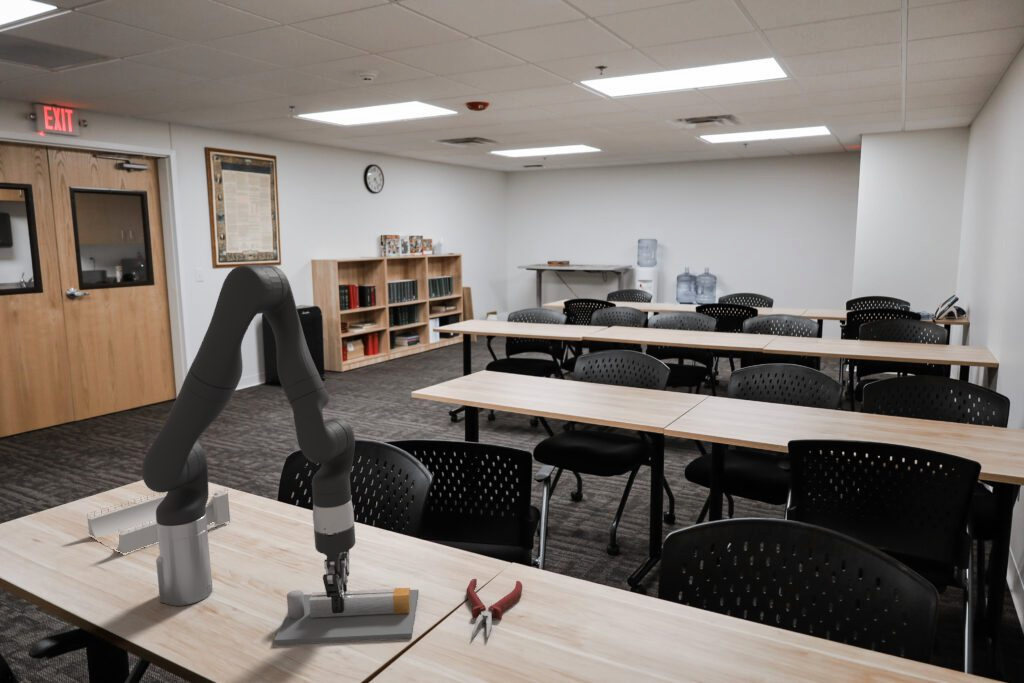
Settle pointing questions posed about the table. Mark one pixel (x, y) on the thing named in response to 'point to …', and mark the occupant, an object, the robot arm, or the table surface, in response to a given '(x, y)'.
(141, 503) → the skate ramp
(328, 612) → the leg
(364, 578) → the table surface
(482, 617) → the pliers
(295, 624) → the mat
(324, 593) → the leg
